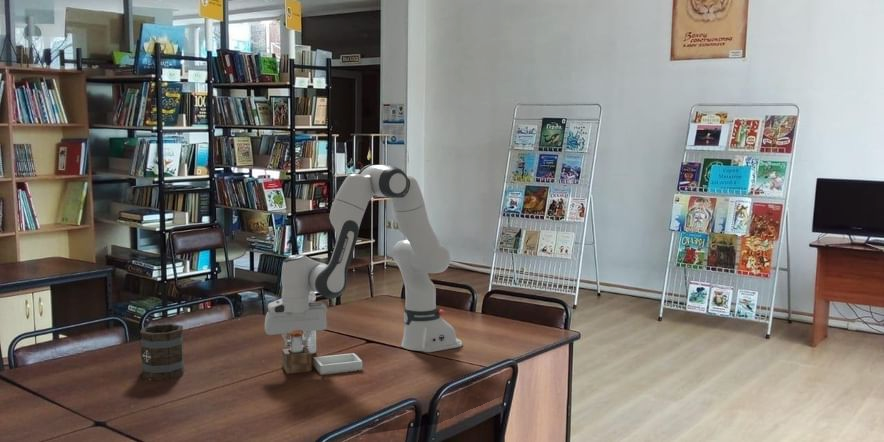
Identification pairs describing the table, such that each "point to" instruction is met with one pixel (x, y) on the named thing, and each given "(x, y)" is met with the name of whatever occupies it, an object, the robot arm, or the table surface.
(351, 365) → the tray
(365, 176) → the robot arm
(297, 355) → the block
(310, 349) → the water bottle
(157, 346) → the mug
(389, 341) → the table surface
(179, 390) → the table surface
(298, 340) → the pin
